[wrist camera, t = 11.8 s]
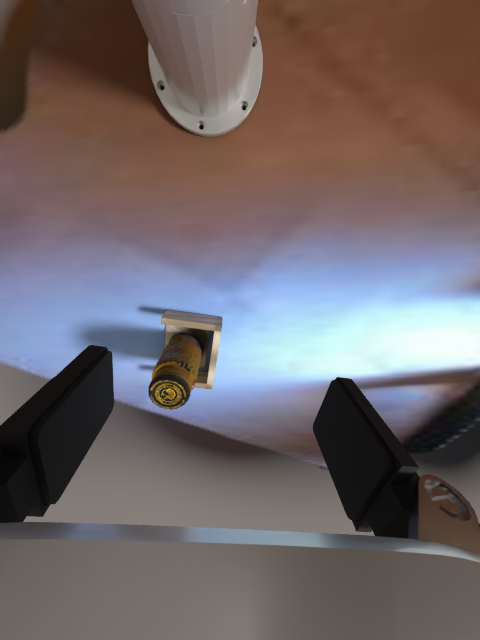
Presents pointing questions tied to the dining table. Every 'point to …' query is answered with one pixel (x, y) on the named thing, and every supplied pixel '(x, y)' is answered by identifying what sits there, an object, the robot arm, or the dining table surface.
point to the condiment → (178, 366)
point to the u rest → (198, 322)
